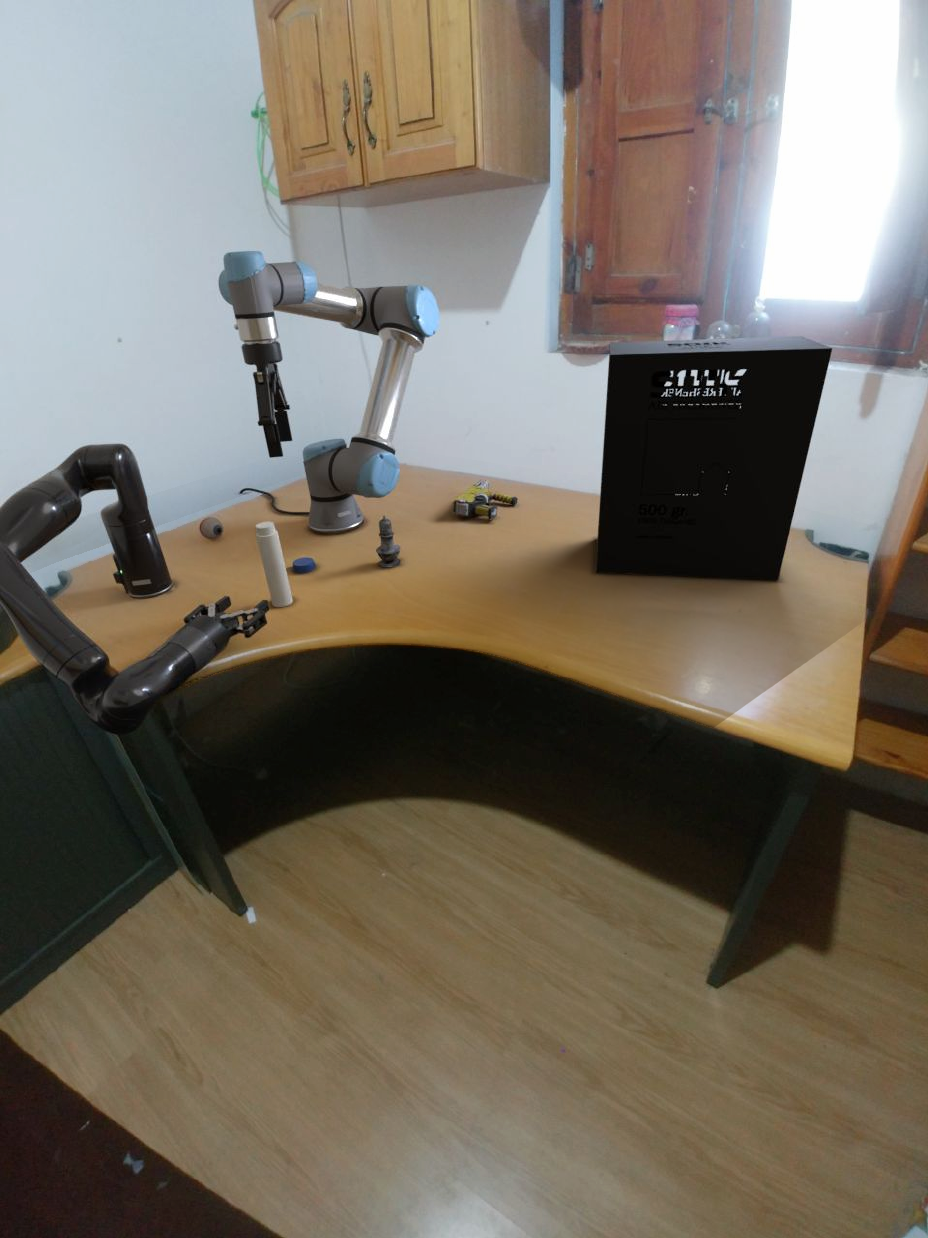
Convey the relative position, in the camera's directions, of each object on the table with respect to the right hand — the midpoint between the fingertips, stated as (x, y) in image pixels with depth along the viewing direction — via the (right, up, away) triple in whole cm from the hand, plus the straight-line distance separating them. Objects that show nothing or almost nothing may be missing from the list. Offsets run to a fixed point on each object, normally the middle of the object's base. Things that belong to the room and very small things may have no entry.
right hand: (281, 448), depth 131 cm
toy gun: (+47, -4, +45) cm, 65 cm away
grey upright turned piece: (+22, -24, +14) cm, 35 cm away
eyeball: (-29, -15, +34) cm, 47 cm away
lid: (+1, -24, +13) cm, 27 cm away
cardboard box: (+90, -23, +9) cm, 93 cm away
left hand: (-3, -34, -13) cm, 36 cm away
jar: (0, -33, -1) cm, 33 cm away
